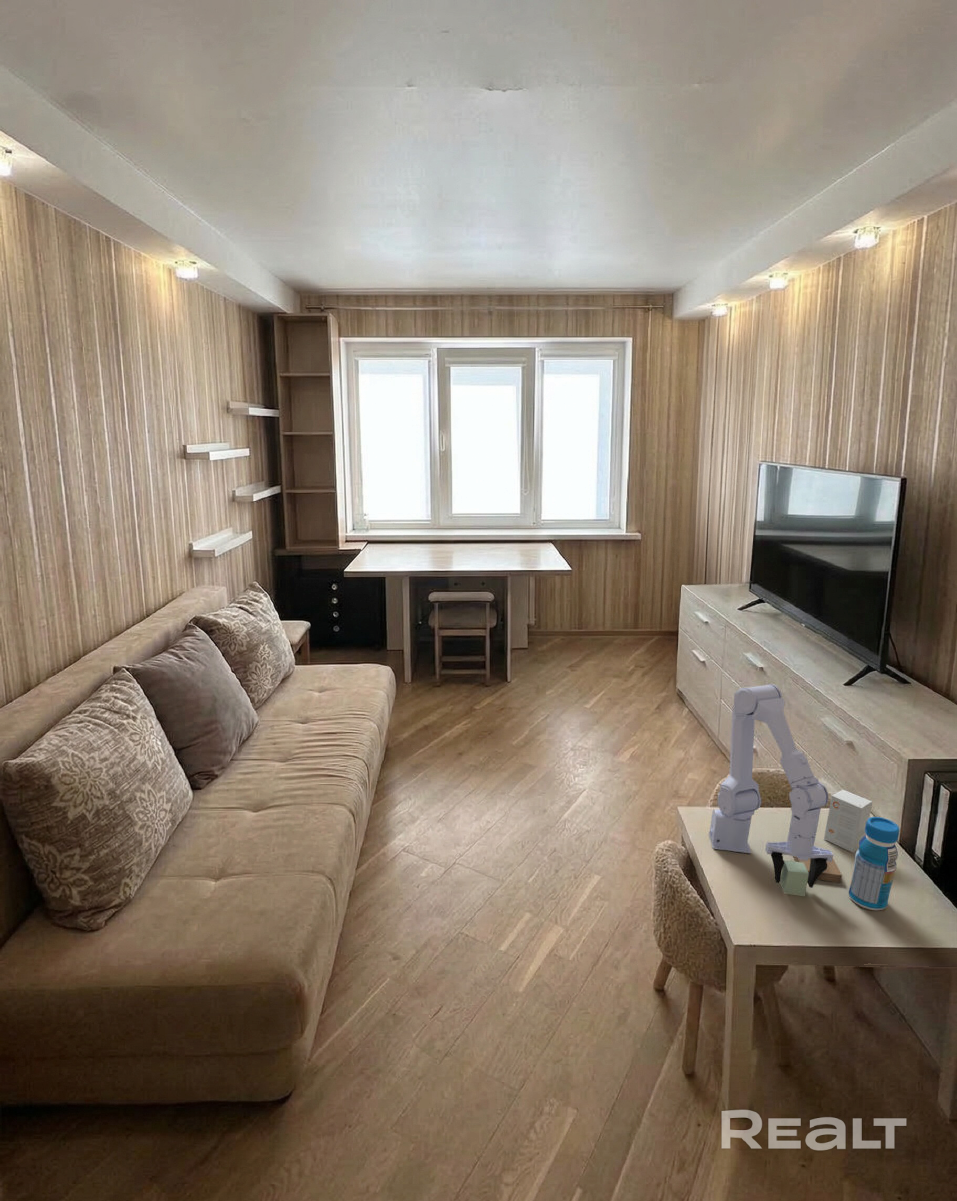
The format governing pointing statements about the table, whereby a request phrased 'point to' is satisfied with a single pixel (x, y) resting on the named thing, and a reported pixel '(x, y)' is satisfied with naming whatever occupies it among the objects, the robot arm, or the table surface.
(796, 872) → the block
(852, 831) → the small box
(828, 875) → the plinth
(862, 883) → the beverage bottle
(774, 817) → the table surface
